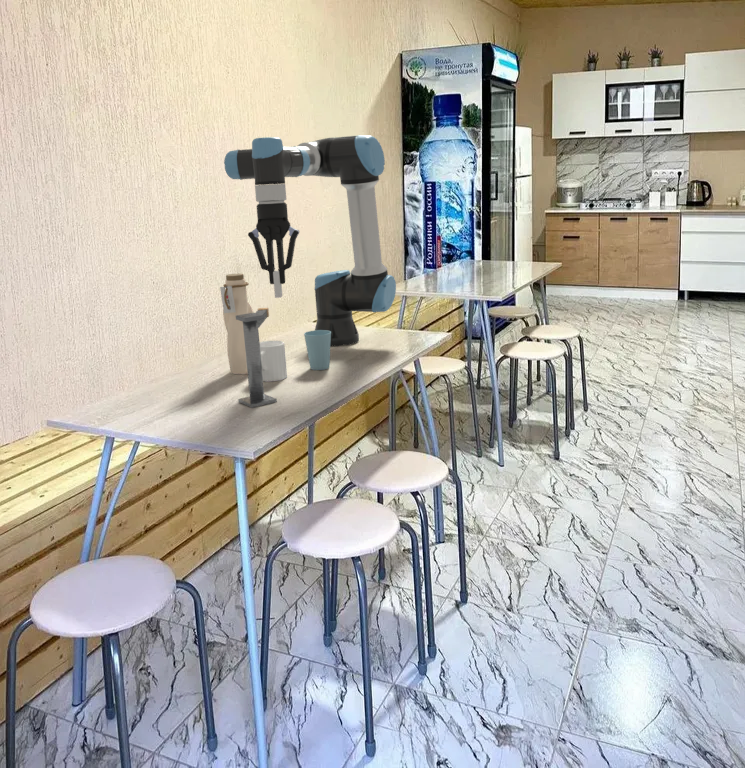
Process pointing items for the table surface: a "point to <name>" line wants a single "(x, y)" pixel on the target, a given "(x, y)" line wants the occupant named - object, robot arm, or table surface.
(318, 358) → the cup
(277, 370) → the mug
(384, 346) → the table surface
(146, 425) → the table surface
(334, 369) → the table surface
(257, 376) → the post
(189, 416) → the table surface
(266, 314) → the bar
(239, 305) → the water bottle
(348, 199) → the robot arm
